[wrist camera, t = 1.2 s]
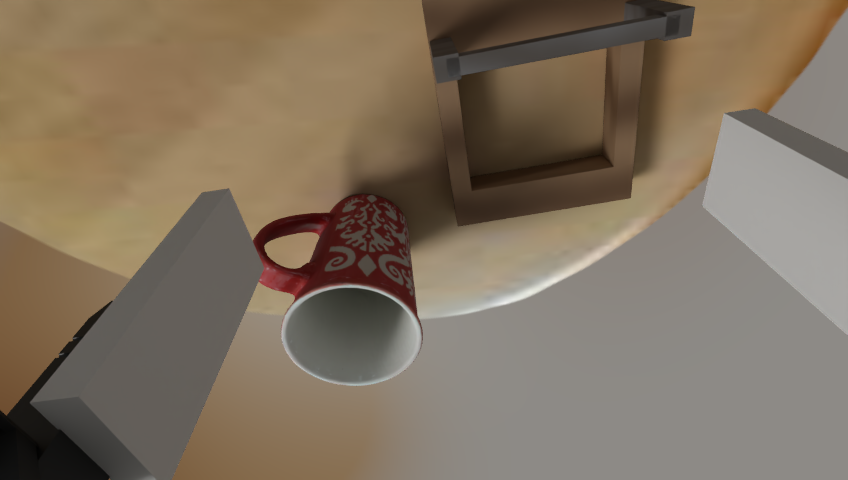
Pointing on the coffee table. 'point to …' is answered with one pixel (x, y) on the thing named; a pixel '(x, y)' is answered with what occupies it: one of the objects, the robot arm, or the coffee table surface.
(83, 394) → the robot arm
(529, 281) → the coffee table surface
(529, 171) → the wooden stand
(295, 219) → the mug
